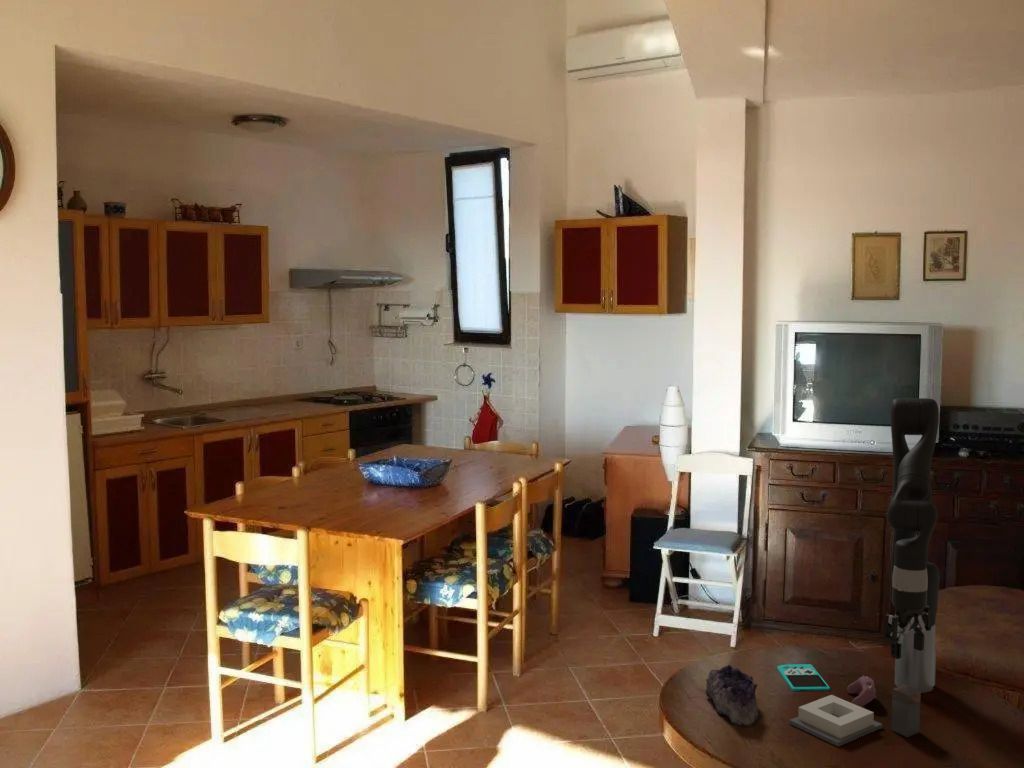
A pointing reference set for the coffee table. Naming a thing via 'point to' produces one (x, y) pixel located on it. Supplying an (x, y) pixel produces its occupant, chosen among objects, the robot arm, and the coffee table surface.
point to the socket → (835, 720)
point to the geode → (733, 695)
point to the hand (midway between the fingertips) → (907, 653)
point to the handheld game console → (802, 677)
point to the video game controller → (862, 691)
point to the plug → (905, 710)
